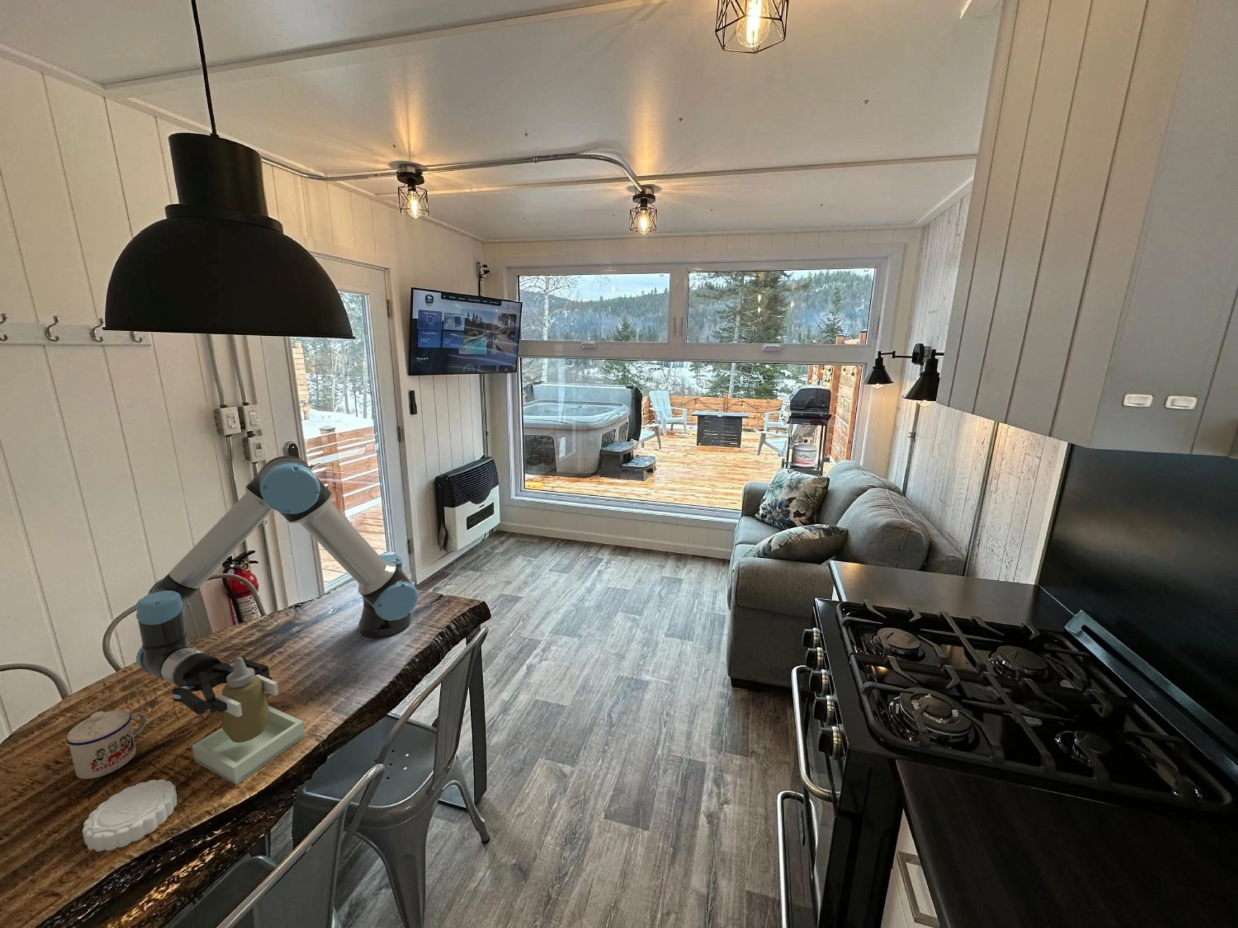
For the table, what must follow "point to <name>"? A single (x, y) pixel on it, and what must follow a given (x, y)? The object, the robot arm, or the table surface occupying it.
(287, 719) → the tray
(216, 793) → the table surface
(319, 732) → the table surface
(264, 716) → the squeeze bottle
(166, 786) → the mooncake
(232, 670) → the robot arm
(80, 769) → the teacup with lid
